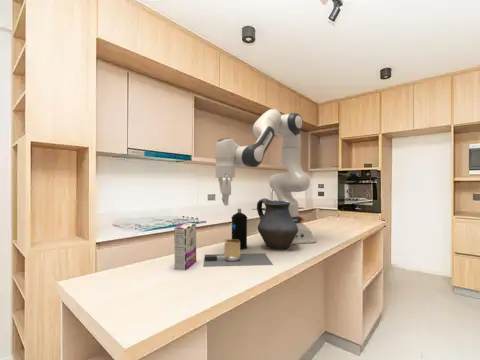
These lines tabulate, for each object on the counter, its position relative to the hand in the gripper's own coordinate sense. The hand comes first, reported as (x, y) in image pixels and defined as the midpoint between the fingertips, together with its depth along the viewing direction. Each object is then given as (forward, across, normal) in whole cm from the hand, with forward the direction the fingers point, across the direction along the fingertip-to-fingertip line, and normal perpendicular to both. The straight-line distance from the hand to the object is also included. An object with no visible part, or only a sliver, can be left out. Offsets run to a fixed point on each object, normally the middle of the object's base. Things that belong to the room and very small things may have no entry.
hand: (225, 204), depth 118 cm
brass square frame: (+21, -7, -2) cm, 22 cm away
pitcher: (+24, +12, -27) cm, 38 cm away
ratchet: (+23, -7, +2) cm, 24 cm away
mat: (+24, -7, -4) cm, 25 cm away
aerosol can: (+24, +13, -8) cm, 28 cm away
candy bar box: (+23, -13, +17) cm, 31 cm away
